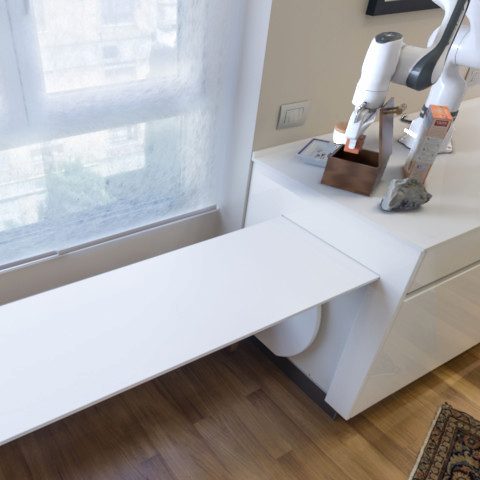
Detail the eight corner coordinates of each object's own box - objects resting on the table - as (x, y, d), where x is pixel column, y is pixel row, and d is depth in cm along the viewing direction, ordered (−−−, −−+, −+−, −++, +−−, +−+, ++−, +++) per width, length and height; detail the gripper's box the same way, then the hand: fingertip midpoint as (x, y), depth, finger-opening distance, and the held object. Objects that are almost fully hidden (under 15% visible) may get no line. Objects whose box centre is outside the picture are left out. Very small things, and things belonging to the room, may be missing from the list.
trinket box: (360, 154, 162) (369, 128, 156) (330, 152, 164) (338, 126, 157) (356, 143, 170) (364, 118, 164) (328, 141, 171) (335, 116, 165)
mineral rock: (426, 206, 134) (441, 174, 127) (424, 222, 127) (439, 189, 120) (382, 196, 138) (394, 165, 131) (377, 211, 131) (390, 179, 124)
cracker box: (424, 185, 144) (454, 119, 130) (404, 182, 146) (432, 116, 131) (421, 168, 154) (449, 105, 140) (403, 166, 155) (428, 103, 141)
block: (347, 146, 142) (352, 132, 139) (361, 149, 140) (366, 135, 137) (343, 150, 139) (347, 136, 136) (357, 154, 137) (362, 139, 134)
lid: (379, 109, 123) (399, 106, 120) (391, 97, 131) (410, 94, 128) (378, 168, 132) (397, 167, 129) (389, 153, 140) (407, 152, 137)
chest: (320, 183, 144) (328, 156, 138) (334, 169, 153) (341, 143, 147) (369, 196, 138) (379, 169, 132) (380, 180, 146) (390, 154, 140)
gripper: (370, 109, 121) (354, 158, 131) (388, 92, 134) (373, 137, 143) (347, 105, 124) (333, 153, 133) (367, 88, 136) (353, 133, 146)
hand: (354, 145), depth 138 cm, fingers closed on block, 4 cm apart
